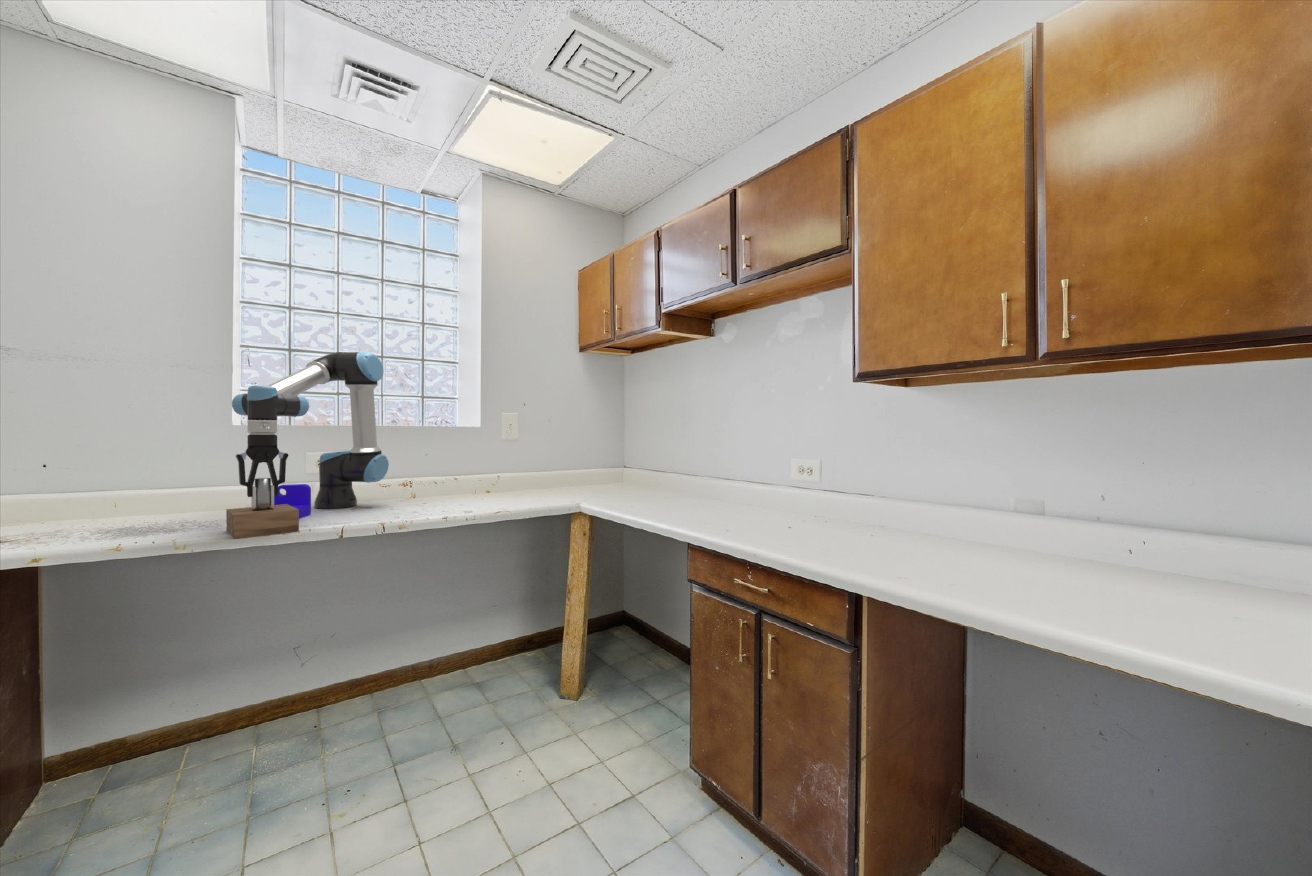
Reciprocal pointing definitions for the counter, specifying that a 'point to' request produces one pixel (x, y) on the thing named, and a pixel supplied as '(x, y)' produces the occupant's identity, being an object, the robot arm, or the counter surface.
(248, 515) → the bore block
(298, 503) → the bracket
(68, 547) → the counter surface
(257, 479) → the pin
